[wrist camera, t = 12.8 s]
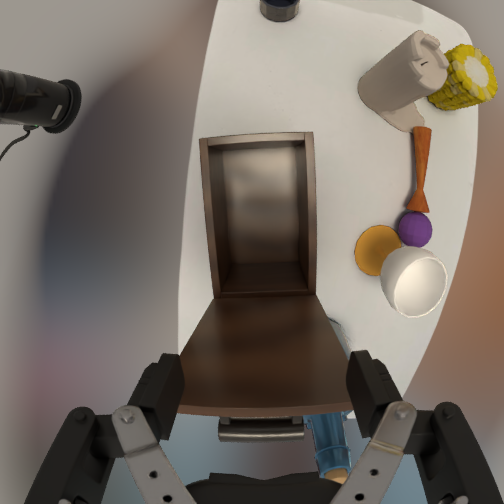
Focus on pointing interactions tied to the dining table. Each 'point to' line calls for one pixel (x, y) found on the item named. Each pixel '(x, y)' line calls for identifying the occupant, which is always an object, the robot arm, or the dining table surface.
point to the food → (465, 79)
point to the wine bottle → (331, 434)
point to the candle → (405, 80)
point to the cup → (402, 271)
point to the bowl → (279, 9)
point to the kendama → (418, 196)
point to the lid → (264, 367)
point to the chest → (260, 214)
